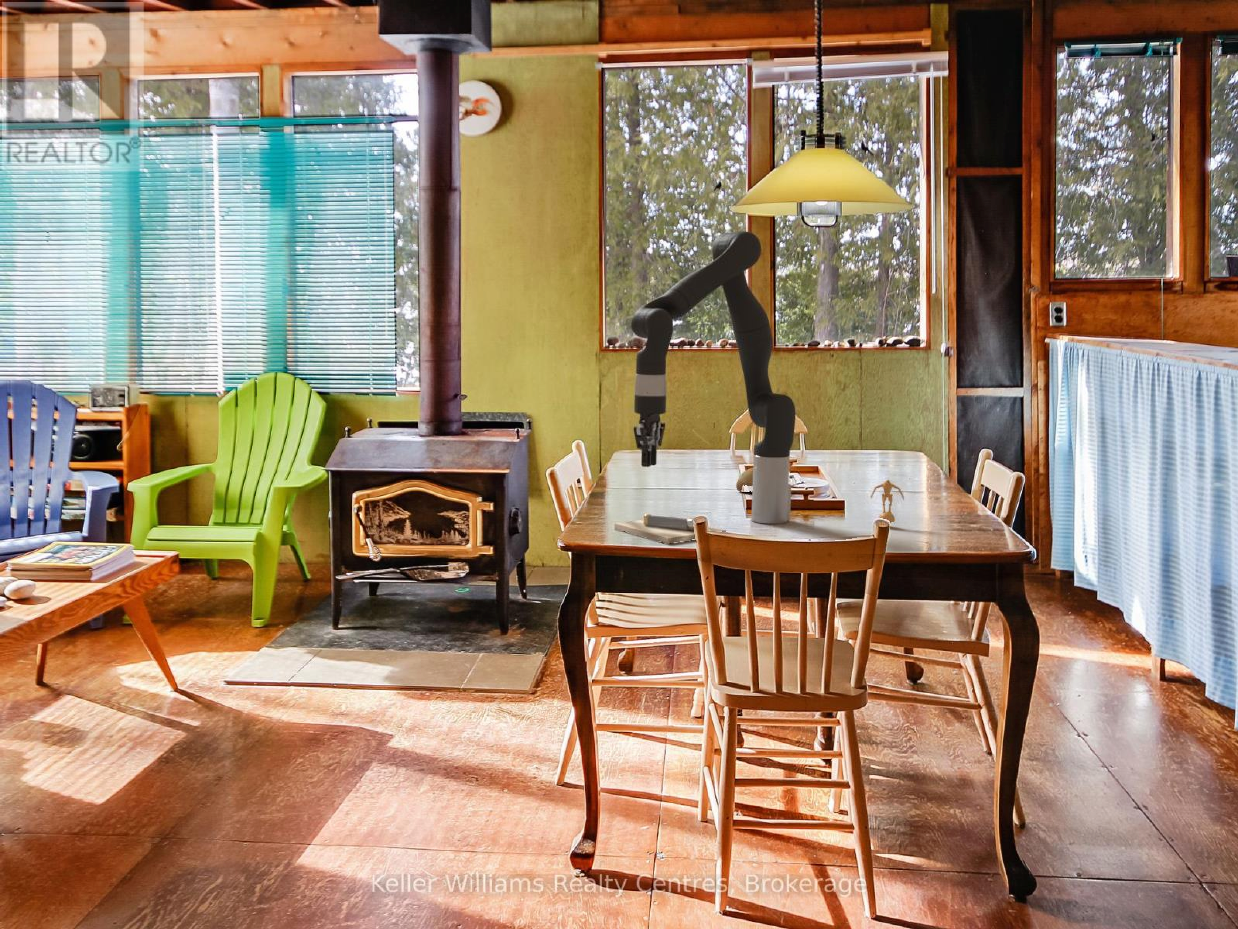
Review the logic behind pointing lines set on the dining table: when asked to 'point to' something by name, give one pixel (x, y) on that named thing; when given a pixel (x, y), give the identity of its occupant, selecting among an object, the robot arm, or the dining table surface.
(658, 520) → the leg
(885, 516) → the figurine
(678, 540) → the hole board
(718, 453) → the dining table surface
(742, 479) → the bread roll
